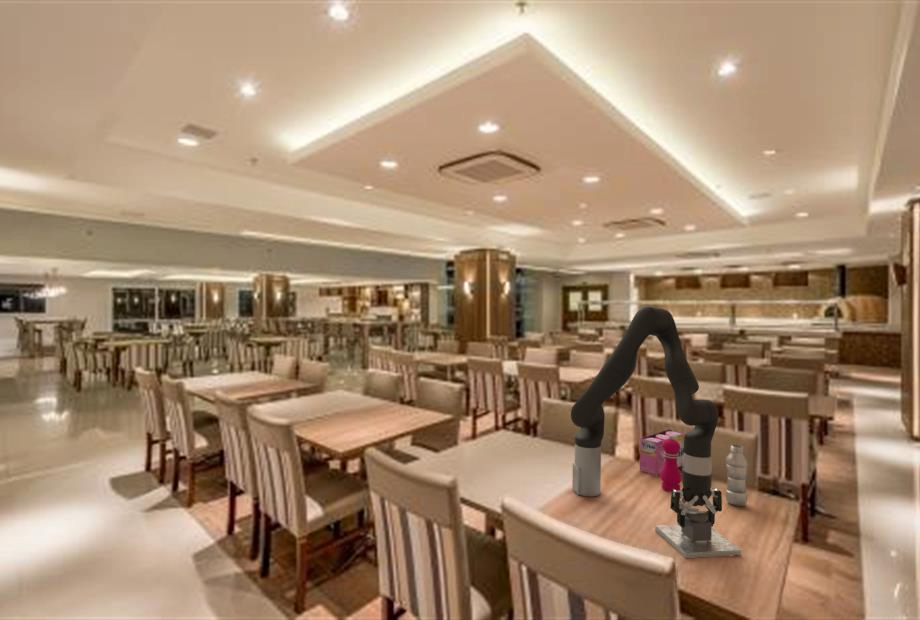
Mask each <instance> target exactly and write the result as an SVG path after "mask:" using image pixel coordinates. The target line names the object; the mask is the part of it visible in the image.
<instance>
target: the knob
mask: <svg viewBox="0 0 920 620" xmlns="http://www.w3.org/2000/svg"><path fill="white" fill-rule="evenodd" d="M706 511H707V510H705V509H700V508H696V507H691V508H690V509H688V510H687V511H686V513H685V514H684V515H685V527H684V528H682V527H681V532H682V533H683V534H685V535H686V536H687V537H688V538H689V539H691V540H692V541H709V540H711V537H712V529H713V528H712V527H713V526H712V523H711V522H710V521H709V520H708V513H707V512H706Z"/></svg>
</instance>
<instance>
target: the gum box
mask: <svg viewBox="0 0 920 620" xmlns="http://www.w3.org/2000/svg"><path fill="white" fill-rule="evenodd" d="M685 434H686V433H685V432H682V433H680V432H676V431H673V430H672V429H666V430H662V431H659V432H656V433H653V434H650V435H647V436H643V437H640V438H639V471H640V470H642V471H641V472H643V471H644V473H646V472H648V473H647V474H649V473H651V474H650V475H653V474H654V475H653V476H656V475H657V476H660V475H661V471H662V469H663V467H664V465H665V456H664V451H665V450H664V449H663V446H662V445H663V442H664V441H665V440H667V439H669V436H670V435H673V436H674V440H676V441H677V442H678V443H679V444H680V450H679V452H678V454H679V455H678V456H679V457H678V458H677V466H678V468H679V467H682V465H683V455H684V436H685Z"/></svg>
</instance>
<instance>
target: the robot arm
mask: <svg viewBox="0 0 920 620" xmlns="http://www.w3.org/2000/svg"><path fill="white" fill-rule="evenodd" d="M649 336H652V337H656V338H657V339H658V341H659V342H660V344H661V346H662V349H663V353H664V370H665V374H666V377H667V379H668V381H669V383H670V386H671V388H672V390H673V392H674V394H673V395H674V400H675V406H676V412H677V415H678V418H679V420H680V421H681V422H683V423H684V424H685V425H686V426H690V427H693V426H694V428H693V429H692V430H691V431H689V432H686V433H684V434H685V436H684V455H683V465H682V466H681V467H682V469H681V470H682V472H681V473H682V474H681V478H682V480H681V483H682V489H681V490H680V491H678V490H675V489H672V492H670V494H671V495H670V509H671V510H672V511H673V512H674V513H676V514H677V515H676V523H677V524H679V526H681V527H682V528H684V527H685V513H686V511H687V510H688V509H690V508H693V507H697V506H699V507H705V508H706V509H707V510H706V512H707V513H708V520H709V521H710V522H711V523H712V527H714V525H715V523H716V516H715V515H716V513H717V512H722V511H723V498H722V497H723V496H722V491H721V490H720V489H718V488H716V487H712V478H713V477H712V476H713V475H712V473H713V471H712V470H713V469H712V468H713V463H712V439H713V438H714V434H715V431H716V430H717V425H718V421H719V412H718V408H717V405H716V404H715V403H714V402H713V401H711V400H710V399H696V400H694V398H693V395H694V394H696V393H697V392H698V391H699V390H700V385H699V383H698V379H696V376H695V373H694V372H693V370H692V368H691V366H690V364H689V362H688V359H687V357H686V354H685V352H684V348H683V346H682V342H681V339H680V335H679V331H678V329H677V325H676V322H675V319H674V316H673V314H672V313H671V312H670V311H669V310H667V309H665V308H663V307H658V306H653V305H644V306H642V307H641V308H639V309H638V310H637V312H635V314H634V316H633V318H632V319H631V322H630V323H629V325H628V327H627V329H626V330H625V333H624V335H622V338H621V339H620V341H619V342H618V344H617V346H616V347H615V349H614V350H613V351H612V353H611V354H610V356H609V357H608V358H607V359H606V361H605V362H604V364H603V365H602V367H601V369H600V370H599V372H598V373H597V374H596V376H595V377H594V379H593V381H592V382H591V383H590V384H589V386H588V388H587V389H586V390H585V392H584V393H583V394H582V395H581V396H580V397H579V398H578V400H577V401H576V402H575V403H574V404H573V405H572V407H571V410H570V419H571V421H572V423H573V424H574V425H575V426H576V427H579V428H580V429H579V431H578V433H577V434H576V435H575V436H574V463H572V482H571V483H572V490H573V491H574V493H575V494H576V495H577V496H583V497H598V496H600V495H601V492H602V491H601V488H602V485H601V484H602V481H601V480H602V477H601V476H602V475H601V474H602V471H601V470H602V442H603V438H604V433H605V432H604V431H605V415H606V414H605V409H604V407H603V404H604V403H605V402H606V401H607V400H608V399H609V398H610V397H612V396H613V395H615V394H616V393H617V392H619V390H621V388H622V387H624V386H625V384H627V382H628V381H629V379H630V378H631V377H632V375H633V374H634V372H635V370H636V367H637V362H638V360H637V359H638V352H639V350H640V347H642V344H644V342H645V340H646V339H647V338H648V337H649ZM711 496H712V503H711V501H710V498H711Z"/></svg>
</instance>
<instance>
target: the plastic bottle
mask: <svg viewBox="0 0 920 620" xmlns="http://www.w3.org/2000/svg"><path fill="white" fill-rule="evenodd" d="M729 450H730V452H729V454H727V456H726V458H725V465H726V466H725V467H726V477H727V480H726V488H725V494H724V495H725V500H726V502H727V503H728V504H730V505H733V506H737V507H744V506H746V505H747V503H748V494H747V487H746V477H747V469H748V461H747V458H746V457H745V456H744V454H743V453H744V447H743V445H739V444H731V445H730V448H729Z"/></svg>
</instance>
